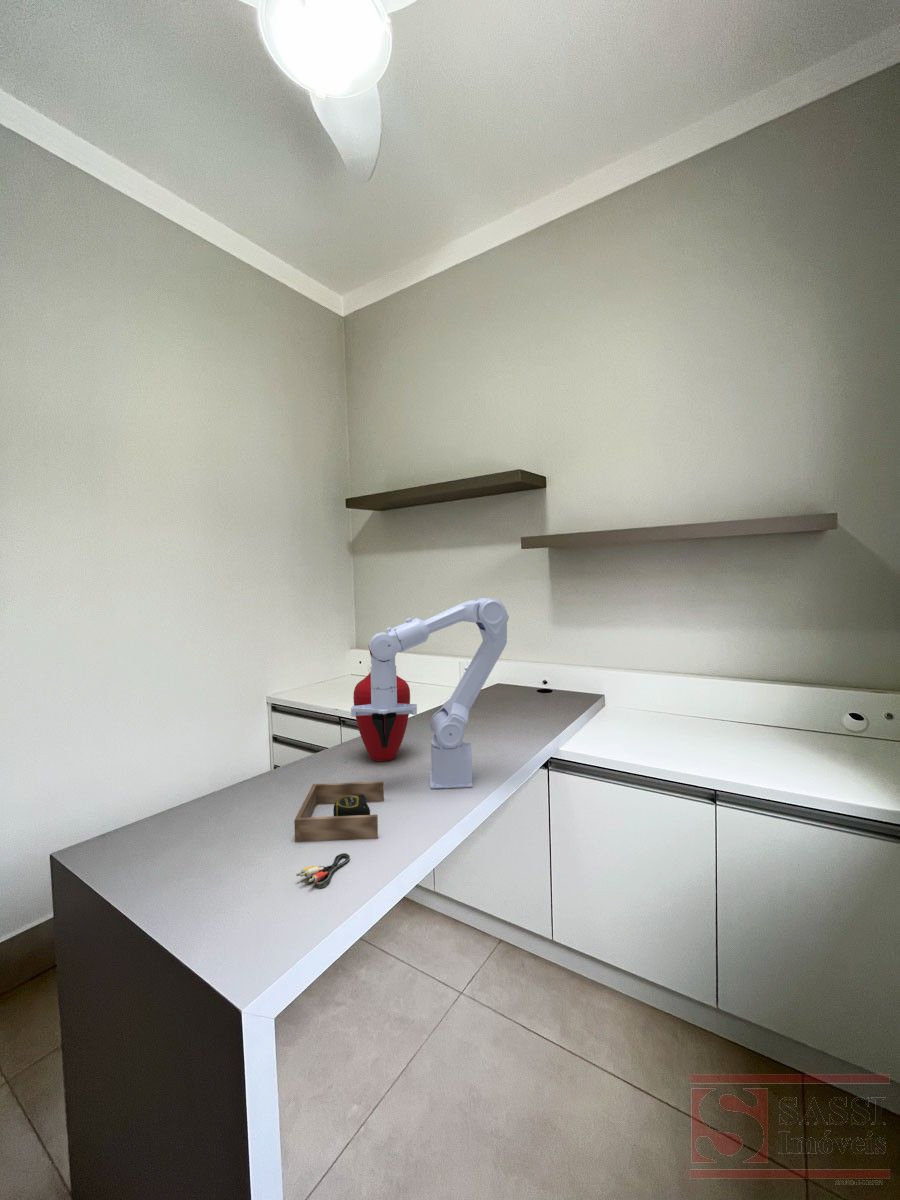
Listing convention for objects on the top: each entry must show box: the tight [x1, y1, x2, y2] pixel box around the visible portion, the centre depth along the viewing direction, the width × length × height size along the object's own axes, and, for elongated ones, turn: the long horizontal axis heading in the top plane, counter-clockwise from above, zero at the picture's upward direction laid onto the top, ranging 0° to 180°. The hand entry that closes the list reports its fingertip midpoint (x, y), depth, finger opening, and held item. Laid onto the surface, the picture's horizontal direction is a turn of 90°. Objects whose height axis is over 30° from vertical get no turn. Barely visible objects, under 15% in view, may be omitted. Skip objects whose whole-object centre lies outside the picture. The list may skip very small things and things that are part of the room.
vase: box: [353, 648, 411, 762], centre depth 130 cm, size 15×15×30 cm
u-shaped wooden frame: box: [293, 781, 385, 843], centre depth 98 cm, size 15×16×4 cm
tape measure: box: [333, 794, 371, 816], centre depth 98 cm, size 7×7×4 cm
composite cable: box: [295, 852, 351, 889], centre depth 80 cm, size 10×5×2 cm, turn 142°
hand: (385, 746), depth 112 cm, fingers closed
